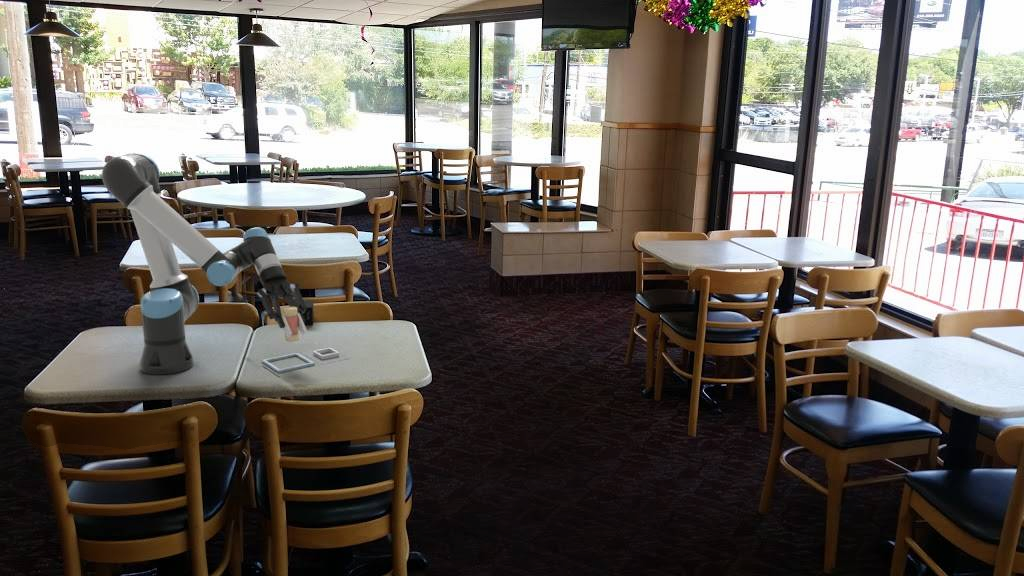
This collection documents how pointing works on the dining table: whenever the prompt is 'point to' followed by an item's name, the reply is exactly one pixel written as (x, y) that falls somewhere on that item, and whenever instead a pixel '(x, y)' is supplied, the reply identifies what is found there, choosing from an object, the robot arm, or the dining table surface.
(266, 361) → the tray
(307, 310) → the digital camera
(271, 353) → the dining table surface
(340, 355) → the white rectangular frame
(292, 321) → the fuse
